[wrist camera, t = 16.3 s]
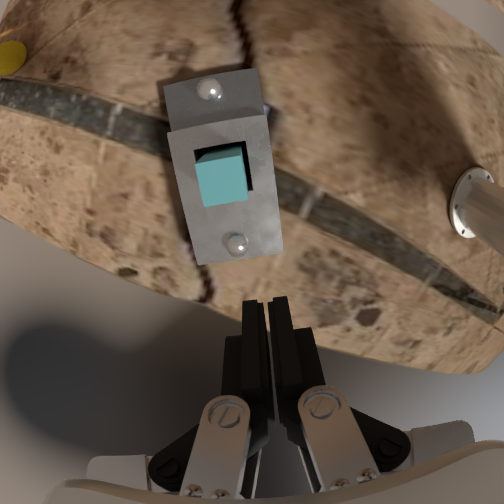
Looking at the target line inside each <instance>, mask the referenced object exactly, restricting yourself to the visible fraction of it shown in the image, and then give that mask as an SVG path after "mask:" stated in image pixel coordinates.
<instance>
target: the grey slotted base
mask: <svg viewBox="0 0 504 504" xmlns="http://www.w3.org/2000/svg"><path fill="white" fill-rule="evenodd" d="M163 89H164V94H165V100H166V106H167V112H168V117H169V122H170V128H171V132H168V133H167V137H168V142H169V147H170V151H171V156H172V161H173V166H174V170H175V175H176V179H177V184H178V188H179V192H180V197H181V201H182V205H183V209H184V213H185V217H186V221H187V225H188V229H189V233H190V237H191V241H192V245H193V248H194V252H195V256H196V259H197V263H198V265H204V264H211V263H218V262H225V261H232V260H239V259H245V258H252V257H259V256H266V255H273V254H279V253H284V251H283V242H282V233H281V224H280V215H279V207H278V199H277V191H276V183H275V175H274V167H273V160H272V152H271V145H270V138H269V131H268V124H267V117H266V115H264V108H263V102H262V95H261V89H260V83H259V77H258V71H257V68H252V69H244V70H237V71H230V72H224V73H219V74H213V75H208V76H203V77H198V78H194V79H189V80H185V81H181V82H177V83H173V84H169V85H166V86H163ZM239 141H246V146H247V152H248V159H249V165H250V172H251V178H252V182H251V183H247V190H248V200H242V201H236V202H230V203H225V204H219V205H214V206H208V207H204V205H203V201H202V196H201V192H200V187H199V183H198V178H197V173H196V169H195V163H196V162H197V161H198V160H199V159H200V158H201V154H200V148H205V147H210V146H216V145H221V144H227V143H233V142H239Z"/></svg>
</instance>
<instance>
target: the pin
mask: <svg viewBox="0 0 504 504" xmlns="http://www.w3.org/2000/svg"><path fill="white" fill-rule="evenodd" d="M195 169H196V173H197V178H198V183H199V187H200V192H201V196H202V201H203V205H204V207H208V206H214V205H219V204H225V203H230V202H236V201H242V200H248V190H247V178H246V171H245V166H244V160H243V154H242V148H241V145H238V146H232V147H226V148H221V149H216V150H211V151H208V152H207V153H205V154H204V155H203V156H202V157H201V158H200V159H199V160H198V161H197V162H196V163H195Z"/></svg>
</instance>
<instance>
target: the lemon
mask: <svg viewBox="0 0 504 504" xmlns="http://www.w3.org/2000/svg"><path fill="white" fill-rule="evenodd" d="M26 54H27V51H26V47H25V46H24V44H23V43H21V42H18V41H7V42H4V43H2V44H0V75H2V76H4V75H9V74H12V73H14V72H16V71H17V70H18V69H19V68H20V67H21V66H22V65H23V63H24V61H25V59H26Z"/></svg>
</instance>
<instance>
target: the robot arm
mask: <svg viewBox="0 0 504 504" xmlns="http://www.w3.org/2000/svg"><path fill="white" fill-rule="evenodd" d="M450 220H451V223H452V226H453V228H454V230H455V231H456V232H457V233H458V234H459V235H461V236H463V237H465V238H471V237H474V236H477V237H478V238H480V239H481V240H482V241H484V242H485V243H486V244H488V245H489V246H490V247H492V248H493V249H494V250H495V251H497V252H498V253H499V254H501V255H502V256H503V257H504V188H503V187H501V186H499V185H497V184H495V183H494V180H493V178H492V176H491V175H490V173H489V172H488V171H486V170H484V169H482V168H479V167H473V168H470V169H468V170H467V171H465V172H464V173H463V174H462V175H461V177H460V178H459V180H458V181H457V183H456V185H455V187H454V190H453V192H452V196H451V201H450ZM268 313H269V323H270V334H271V343H272V355H273V366H274V377H275V387H276V396H277V404H278V412H279V420H280V427H286V428H287V436H288V439H289V440H290V441H292V442H294V443H295V444H297V445H298V448H299V451H300V454H301V457H302V461H303V464H304V467H305V471H306V474H307V477H308V480H309V483H310V487H311V489H312V494H305V495H298V496H289V497H279V498H265V499H254V495H255V488H256V482H257V476H258V470H259V462H260V456H261V448H262V447H263V446H264V445H265V444H266V443H268V441H269V436H270V428H275V427H276V426H275V412H274V400H273V387H272V375H271V362H270V351H269V344H268V336H267V328H266V321H265V314H264V306H263V303H258V302H257V300H248V301H243V303H242V335H240V336H227V337H226V339H225V350H224V363H223V376H222V390H221V396H220V397H217V398H215V399H213V400H211V401H210V402H209V403H208V404H207V405H206V407H205V409H204V411H203V414H202V418H201V421H200V423H199V424H198V425H196V426H195V427H194V428H192V429H191V430H189V431H188V432H187V433H185V434H184V435H183V436H181V437H180V438H178V439H177V440H176V441H174V442H173V443H171V444H170V445H169V446H167V447H166V448H164V449H163V450H161V451H160V452H158V453H157V454H155V456H148V457H147V456H146V455H133V456H98V457H95V458H93V459H92V460H91V461H90V462H89V464H88V468H87V479H68V480H63V481H60V482H57V483H55V484H54V485H53V486H52V487H51V488H50V489H49V490H48V492H47V494H46V496H45V499H44V501H43V504H504V441H501V440H485V441H480V442H475V439H474V434H473V430H472V427H471V426H470V425H469V424H468V423H467V422H465V421H462V420H459V421H458V420H457V421H452V422H448V423H443V424H438V425H432V426H426V427H419V428H412V429H411V431H403V432H402V431H401V430H399V429H397V428H394V427H392V426H390V425H388V424H385V423H383V422H381V421H379V420H376V419H374V418H372V417H370V416H368V415H366V414H364V413H361V412H359V411H357V410H355V409H353V408H351V407H349V405H348V403H347V401H346V399H345V397H344V395H343V394H342V393H341V392H340V391H339V390H338V389H336V388H334V387H331V386H326V384H325V380H324V376H323V372H322V367H321V363H320V360H319V355H318V351H317V347H316V344H315V340H314V336H313V332H312V329H311V327H308V328H301V329H293V325H292V319H291V314H290V309H289V304H288V299H287V296H282V297H274V298H273V301H272V302H268Z"/></svg>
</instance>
